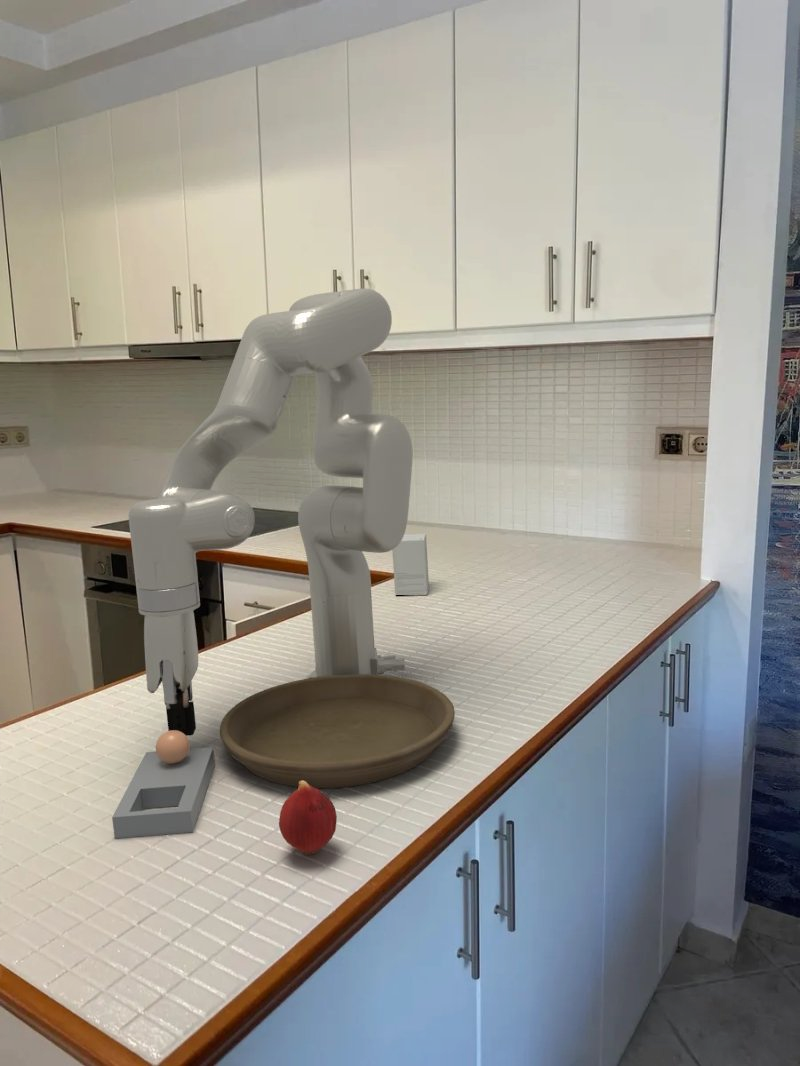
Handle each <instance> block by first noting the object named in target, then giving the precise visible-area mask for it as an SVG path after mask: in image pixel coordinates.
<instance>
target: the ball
mask: <svg viewBox="0 0 800 1066" xmlns="http://www.w3.org/2000/svg"><path fill="white" fill-rule="evenodd" d="M189 749H190V741H189V738H188V736H186V735H185V734H184V733H182V732H180V731H177V730H170V731H168V730H167V731H165V732H164V733H161V735H160V736H159V737H158V739H157V741H156V743H155V751H156V753H157V755H158V757H159V758H160V759H161V760H162V761H163V762H165V763H168V764H175V763H178V762H180V761H182V760H183V759H184V758H185V757H186V756H187V754H188V752H189Z"/></svg>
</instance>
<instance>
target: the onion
mask: <svg viewBox="0 0 800 1066" xmlns="http://www.w3.org/2000/svg"><path fill="white" fill-rule="evenodd" d="M337 816H338V815H337V810H336V807H335V805H334V803H333V801H332V800H331V799H330V798H329V797H328V796H327V795H326V794H325V793H323V792H322V790H320V789H319V788H313V787H312V786H310V785H308V784H307V782H306V781H299V787H298V789H296V790H294V791H293V792H292V793H291V794H290V795H289V796H288V797H287V798H286V800H284V802H283V804H282V806H281V810H280V811H279V819H278V826H279V827H278V828H279V830H280V833H281V836H282V837H283V839H284V841H286V843H287V844H288V845H290V846H291V847H293V848H294V849H295V850H298V851H299V852H301V853H303V854H305V855H308V856H309V855H313V854H314V853H316V852H318V851H320V850H321V849H323V848H324V847H326V845H327V844H328V843H329V842H330V841H331V840H332V838H333V836H334V835H335V832H336V828H337Z"/></svg>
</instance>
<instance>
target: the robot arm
mask: <svg viewBox="0 0 800 1066" xmlns="http://www.w3.org/2000/svg"><path fill="white" fill-rule="evenodd" d="M392 319H393V318H392V311H391V307H390V305H389V303H388V301H387V299H386V298H385V297H384V296H383V295H382V294H381V293H380V292H378V291H376V290H375V289H370V288H356V289H355V288H354V289H348V290H340V291H331V292H323V293H317V294H312V295H308V296H305V297H302V298H300V299H298V300H297V301H295V302H294V303H292V305H290V308H289V309H288V310H287V311H278V312H273V313H272V312H271V313H265V314H262V315H259V316H257V317H255V318H253V319H252V320H251V321H250V322H249V324H248V325H247V326H246V328H245V330H244V332H243V335H242V337H241V339H240V343H239V345H238V347H237V350H236V352H235V355H234V357H233V358H234V359H233V361H232V364H231V366H230V369H229V372H228V375H227V378H226V380H225V382H224V385H223V388H222V391H221V394H220V397H219V399H218V402H217V403H216V406H215V408H214V410H213V411H212V413H210V414H209V416H208V417H207V418H206V419H204V421H203V422H202V423H201V424H199V426H198V427H197V428H196V429H195V431H194V432H193V433H192V434H191V435H190V436H189V438H187V440H186V441H185V442H184V443H183V444H182V446H181V447H180V448H179V450H178V451H177V452H176V454H175V455H174V457H173V459H172V461H171V463H170V465H169V467H168V470H167V472H166V475H165V477H164V481H163V483H162V486H161V487H160V491H159V494H158V498H154V499H153V498H152V499H147V500H141V501H138V502H136V503H134V504H133V505H132V506H131V507H130V509H129V510H128V525H129V533H130V534H129V535H130V544H131V552H132V559H133V560H132V561H133V568H134V569H133V571H134V578H135V581H134V582H135V587H136V588H135V589H136V595H137V596H136V597H137V606H138V613H139V614H140V615H142V616H144V620H143V621H144V622H143V623H144V624H143V625H144V626H143V633H144V634H143V640H144V641H143V642H144V643H143V644H144V645H143V646H144V660H145V663H144V664H145V675H146V677H145V678H146V688H147V689H146V690H147V691H148V693H150V694H154V693H156V692H157V691H158V689H159V687H160V685H161V683H162V690H163V701H164V705H165V709H166V710H165V712H166V721H167V729H168V730H167V731H170V730H177V731H180V732H182V733H184V734H185V735H186V736H187V737H188V736H193V735H194V733H195V731H196V728H197V725H196V714H195V704H194V701H193V683H192V681H193V678H194V676H195V674H196V673H197V671H198V668H199V647H198V637H197V629H196V621H195V613H194V611H195V610H196V609H198V608H200V606H201V599H200V589H199V580H198V579H199V578H198V566H197V556H196V553H198V552H202V551H219V550H228V549H232V548H235V547H237V546H239V545H241V544H242V543H244V542H245V541H246V540H247V539H249V537H250V536H251V534H252V532H253V530H254V528H255V522H256V520H255V517H256V516H255V512H254V509H253V507H252V505H251V503H250V502H249V501H248V500H247V499H246V498H244V497H243V496H241V495H240V494H237V493H235V492H231V491H226V490H225V491H224V490H213V489H212V487H213V486H214V483H215V482H216V480H217V478H218V476H219V475H220V474H221V472H222V471H223V470H224V469H225V468H226V467H227V466H228V465H229V464H230V463H231V462H232V461H234V460H235V459H236V458H238V457H240V456H241V455H242V454H244V453H246V452H248V451H249V450H251V449H255V447H257V446H259V445H260V444H262V443H264V442H265V441H267V440H268V439H270V438H271V437H272V436H273V435H274V434H275V433H276V431H277V429H278V426H279V423H280V419H281V417H282V414H283V410H284V407H285V405H286V402H287V399H288V396H289V393H290V390H291V389H292V385H293V383H294V381H295V378H296V376H297V375H310V374H314V376H315V380H316V388H317V389H316V409H315V419H314V421H315V422H314V433H313V434H314V435H313V459H314V460H313V461H314V463H315V465H316V467H317V469H318V470H319V471H320V472H322V473H324V474H326V475H328V476H332V477H336V478H351V479H352V478H353V479H362V486H360V487H358V486H351V485H350V486H348V485H324V486H323V485H322V486H318V487H316V488H314V489H312V490H311V491H309V492H308V493H307V494H306V495H304V497H303V499H301V500H302V501H301V502H300V504H299V507H298V514H297V515H298V516H297V521H298V529H299V532H300V535H301V540H302V544H303V546H304V551H305V555H306V561H307V568H308V569H307V570H308V579H309V591H310V592H309V593H310V594H309V595H310V607H311V609H310V610H311V623H312V632H313V633H312V635H313V646H314V647H313V648H314V649H313V650H314V662H315V670H313V671H312V672H311V673H309V675H307V677H306V679H308V678H315V677H323V676H332V675H353V674H367V675H384V676H387V674H386V672H388V671H393V672H396V671H397V672H399V671H405V658H404V657H400V658H399V657H398V658H396V654H395V655H393V654H392V655H387V656H382V655H381V654H377V653H378V652H377V648H376V647H375V635H374V633H375V632H374V617H373V616H374V615H373V613H374V612H373V599H372V598H373V597H372V580H371V579H372V578H371V572H370V568H369V564H368V562H367V559H366V557H365V554H364V553H363V552H366V553H375V554H376V553H380V554H381V553H388V552H390V551H392V550H393V549H394V548H396V547H397V546H398V545H399V543H400V542H401V540H402V538H403V536H404V535H405V534H406V529H407V523H408V518H409V508H410V495H411V484H412V472H413V469H412V468H413V457H414V455H413V444H412V439H411V435H410V433H409V430H408V429H407V427H406V426H405V424H404V423H403V421H401V420H400V419H398V418H397V417H395V416H392V415H388V414H383V413H382V414H377V413H376V414H373V394H374V393H373V390H374V389H373V380H372V376H371V374H370V371H369V369H368V366H367V365H366V362H365V361H364V360H363V359H364V358H362V356H364V355H366V354H369V353H371V352H372V351H374V350H376V349H378V348H379V347H380V346H382V344H384V342H385V341H386V340H387V338H388V336H389V334H390V331H391V327H392V321H393V320H392Z"/></svg>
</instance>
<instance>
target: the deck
mask: <svg viewBox="0 0 800 1066" xmlns="http://www.w3.org/2000/svg"><path fill="white" fill-rule="evenodd" d="M215 767H216V762H215V751H214V746H213V747H212V746H209V747H198V748H197V747H196V748H195V747H194V748H189V752H188V754H187V756H186V757H185V758H184V759H183V760H182V761H180V762H178V763H175V764H168V763H165V762H163V761H162V760H161V759H160V758H159V757H158V755H157V753H156V750H155V751H146V752H145V754H144V756H143V758H142V759H141V761H140V763H139V765H138V767H137V769H136V771H135V773H134V775H133V776H132V778H131V781H130V782H129V784H128V787H127V788H126V790H125V792H124V794H123V795H122V798H121V799H120V801H119V803H118V806H117V807H116V809H115V811H114V813H113V814H112V816H111V818H112V827H113V835H114V839H124V838H126V839H127V838H137V837H151V836H161V835H163V836H165V835H173V834H174V835H175V834H176V835H177V834H185V833H189V834H190V833H194V831H195V829H196V828H195V827H196V825H197V821H198V818H199V815H200V812H201V809H202V806H203V804H204V800H205V797H206V794H207V791H208V789H209V785H210V783H211V779H212V775H213V773H214V769H215ZM170 807H171V808H170ZM172 807H173V808H172ZM155 808H158V809H155ZM159 808H161V809H159ZM162 808H163V809H162ZM145 809H147V810H145Z"/></svg>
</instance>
